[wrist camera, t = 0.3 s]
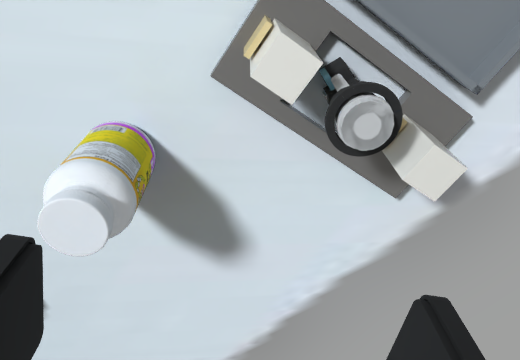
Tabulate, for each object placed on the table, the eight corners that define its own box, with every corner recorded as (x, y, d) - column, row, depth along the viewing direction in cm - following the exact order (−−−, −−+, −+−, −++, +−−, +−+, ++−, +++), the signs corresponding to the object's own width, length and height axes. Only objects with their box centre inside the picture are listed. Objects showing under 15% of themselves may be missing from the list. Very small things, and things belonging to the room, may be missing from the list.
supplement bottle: (127, 196, 42) (84, 284, 31) (70, 152, 40) (0, 230, 29) (172, 152, 40) (143, 228, 29) (114, 103, 38) (58, 165, 27)
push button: (386, 108, 39) (427, 152, 30) (333, 137, 40) (358, 189, 31) (353, 43, 36) (387, 71, 28) (298, 77, 38) (313, 115, 29)
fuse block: (279, -35, 34) (289, -32, 26) (466, 112, 39) (516, 147, 32) (211, 72, 37) (202, 101, 30) (392, 192, 43) (421, 240, 36)
